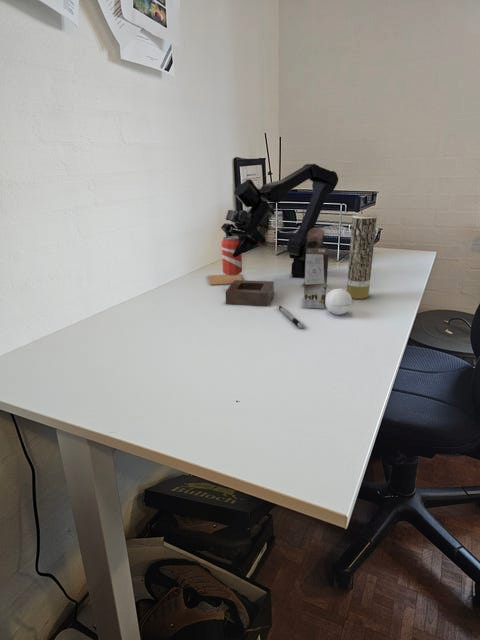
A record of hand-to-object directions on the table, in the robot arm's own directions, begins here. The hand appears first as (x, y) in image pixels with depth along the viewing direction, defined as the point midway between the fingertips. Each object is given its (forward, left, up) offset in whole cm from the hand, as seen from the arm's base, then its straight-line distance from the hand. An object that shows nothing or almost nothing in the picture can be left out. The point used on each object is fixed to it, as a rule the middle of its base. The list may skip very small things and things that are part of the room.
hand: (228, 254), depth 130 cm
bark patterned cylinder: (-42, 0, -12) cm, 43 cm away
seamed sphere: (-37, +17, -12) cm, 42 cm away
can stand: (-9, +7, -12) cm, 16 cm away
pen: (-23, +23, -13) cm, 34 cm away
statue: (-28, -9, -12) cm, 32 cm away
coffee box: (-29, +9, -12) cm, 32 cm away
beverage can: (-1, -1, -7) cm, 7 cm away
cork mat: (+4, -13, -12) cm, 19 cm away
